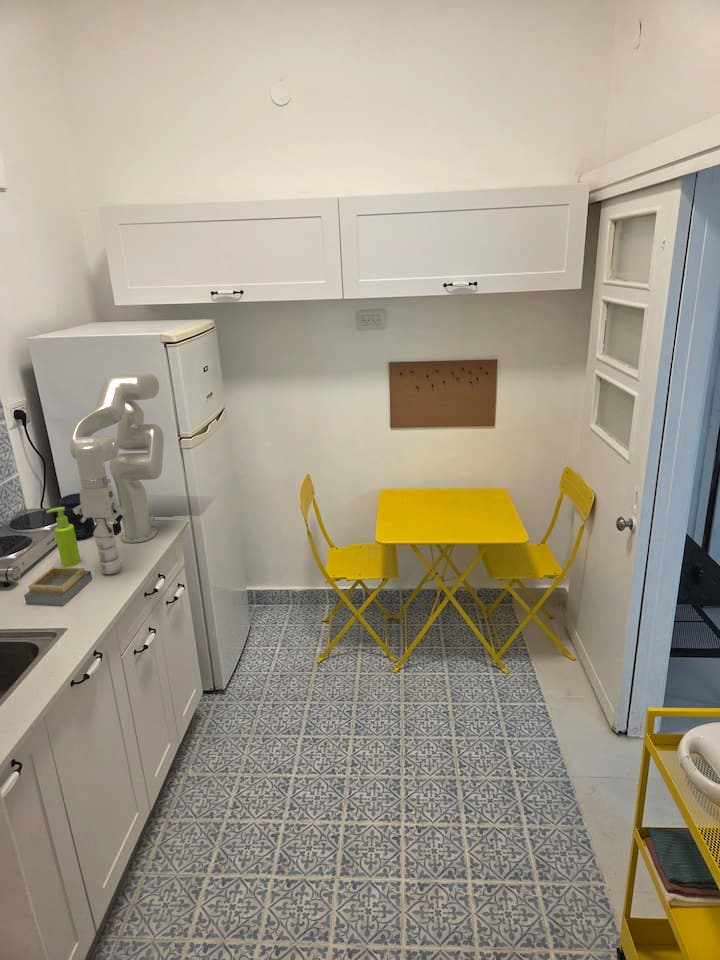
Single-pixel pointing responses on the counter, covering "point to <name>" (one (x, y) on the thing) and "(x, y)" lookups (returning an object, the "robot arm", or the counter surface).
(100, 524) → the plastic bottle
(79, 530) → the storage jar
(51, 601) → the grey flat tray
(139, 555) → the counter surface
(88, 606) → the counter surface
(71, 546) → the soap dispenser
